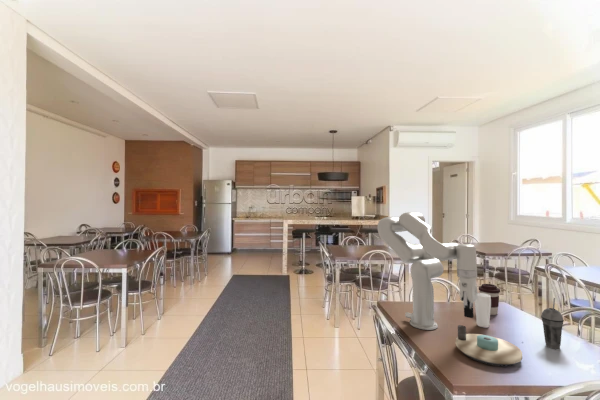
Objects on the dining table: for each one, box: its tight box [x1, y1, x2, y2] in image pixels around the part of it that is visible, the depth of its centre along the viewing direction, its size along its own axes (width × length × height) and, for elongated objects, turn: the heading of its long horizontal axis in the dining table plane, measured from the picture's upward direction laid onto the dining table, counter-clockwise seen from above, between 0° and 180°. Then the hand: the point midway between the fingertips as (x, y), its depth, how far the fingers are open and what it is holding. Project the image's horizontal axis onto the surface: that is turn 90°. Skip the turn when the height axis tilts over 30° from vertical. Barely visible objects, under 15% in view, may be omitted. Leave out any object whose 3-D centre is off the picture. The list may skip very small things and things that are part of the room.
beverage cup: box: [540, 297, 564, 350], centre depth 124 cm, size 7×7×20 cm
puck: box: [477, 334, 498, 351], centre depth 117 cm, size 7×7×3 cm
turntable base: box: [463, 353, 514, 367], centre depth 118 cm, size 18×18×2 cm
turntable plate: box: [455, 324, 523, 365], centre depth 118 cm, size 22×22×6 cm
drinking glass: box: [474, 292, 491, 329], centre depth 146 cm, size 7×7×15 cm
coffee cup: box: [478, 283, 501, 316], centre depth 164 cm, size 10×10×15 cm
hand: (468, 316), depth 128 cm, fingers closed
